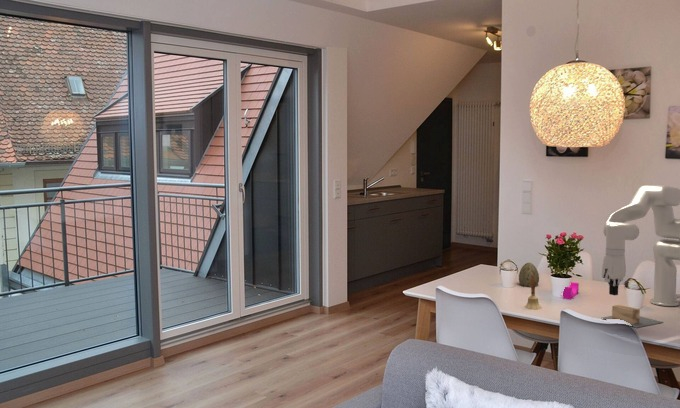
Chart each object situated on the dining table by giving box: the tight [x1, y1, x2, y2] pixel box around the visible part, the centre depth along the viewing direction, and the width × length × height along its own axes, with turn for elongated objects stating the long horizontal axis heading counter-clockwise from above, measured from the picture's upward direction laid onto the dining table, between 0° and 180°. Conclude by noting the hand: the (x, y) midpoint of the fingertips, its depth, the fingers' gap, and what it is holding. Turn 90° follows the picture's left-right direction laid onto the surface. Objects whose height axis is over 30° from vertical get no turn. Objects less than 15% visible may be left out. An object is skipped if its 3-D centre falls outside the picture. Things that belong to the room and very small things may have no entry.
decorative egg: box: [518, 262, 540, 288], centre depth 340 cm, size 11×11×15 cm
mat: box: [602, 315, 664, 329], centre depth 273 cm, size 18×18×1 cm
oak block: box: [611, 304, 641, 324], centre depth 271 cm, size 5×10×6 cm, turn 28°
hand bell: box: [524, 276, 543, 310], centre depth 297 cm, size 8×8×16 cm
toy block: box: [562, 281, 580, 301], centre depth 318 cm, size 15×6×8 cm, turn 145°
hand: (613, 294), depth 267 cm, fingers closed
